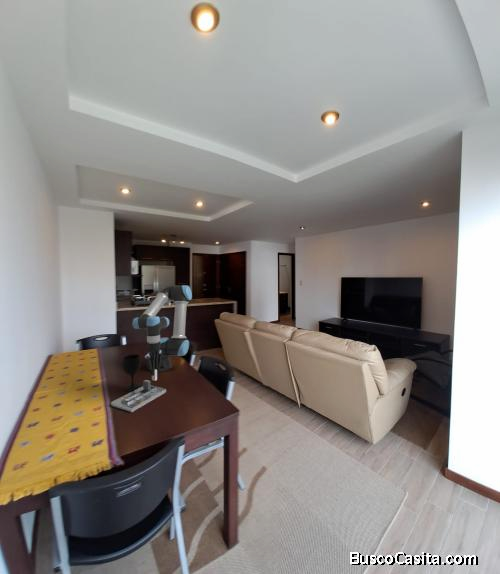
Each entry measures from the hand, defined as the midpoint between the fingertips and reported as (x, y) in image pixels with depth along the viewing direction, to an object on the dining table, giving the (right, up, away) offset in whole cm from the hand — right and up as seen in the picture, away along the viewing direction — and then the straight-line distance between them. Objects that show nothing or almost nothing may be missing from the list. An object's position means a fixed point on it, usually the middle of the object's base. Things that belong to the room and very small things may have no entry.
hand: (154, 379), depth 148 cm
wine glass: (-16, -7, +5) cm, 18 cm away
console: (-5, -7, -9) cm, 13 cm away
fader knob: (-2, -5, -5) cm, 7 cm away
